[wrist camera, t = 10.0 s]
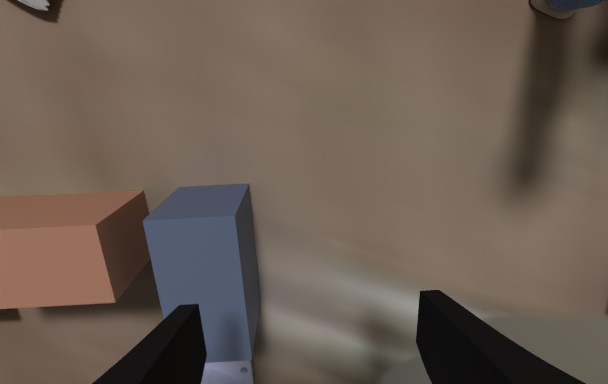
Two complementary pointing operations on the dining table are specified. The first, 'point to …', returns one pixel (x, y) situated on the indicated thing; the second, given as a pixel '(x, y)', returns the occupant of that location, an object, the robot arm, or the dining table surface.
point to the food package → (36, 4)
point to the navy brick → (209, 264)
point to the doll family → (562, 6)
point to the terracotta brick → (70, 248)
